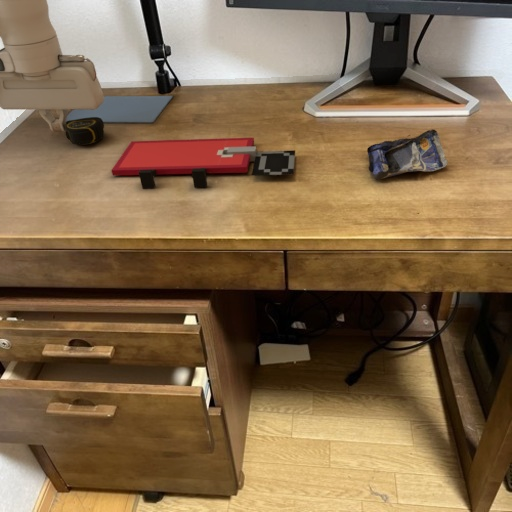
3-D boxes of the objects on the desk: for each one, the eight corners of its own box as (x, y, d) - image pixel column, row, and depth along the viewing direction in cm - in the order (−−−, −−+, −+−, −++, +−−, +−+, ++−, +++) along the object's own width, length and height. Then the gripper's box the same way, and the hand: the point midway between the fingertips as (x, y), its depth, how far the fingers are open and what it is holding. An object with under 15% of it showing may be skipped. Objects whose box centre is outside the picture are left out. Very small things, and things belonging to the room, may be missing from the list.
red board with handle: (293, 185, 75) (296, 143, 87) (292, 169, 74) (295, 128, 85) (105, 189, 79) (133, 148, 91) (101, 173, 77) (129, 134, 89)
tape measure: (106, 131, 97) (101, 112, 95) (105, 145, 92) (100, 126, 89) (70, 136, 96) (65, 117, 94) (67, 151, 91) (61, 132, 89)
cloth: (60, 122, 102) (60, 121, 102) (89, 97, 113) (88, 96, 112) (153, 123, 99) (152, 121, 98) (173, 97, 109) (172, 95, 109)
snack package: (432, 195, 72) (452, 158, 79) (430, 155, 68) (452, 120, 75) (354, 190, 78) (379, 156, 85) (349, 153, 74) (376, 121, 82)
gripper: (98, 49, 87) (117, 123, 96) (-6, 51, 90) (21, 122, 99) (83, 60, 82) (104, 137, 91) (-27, 62, 85) (3, 136, 94)
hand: (60, 130), depth 95 cm, fingers closed
